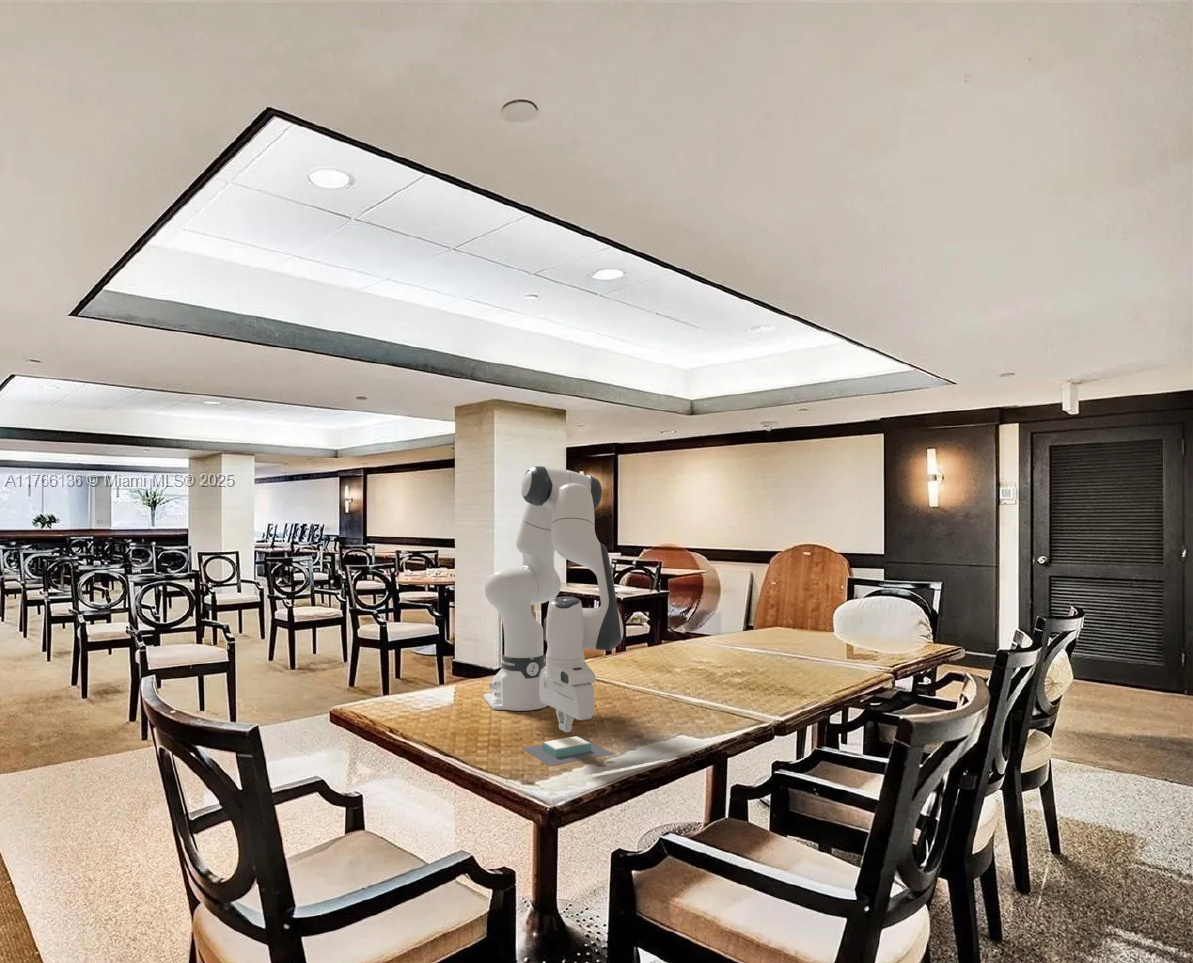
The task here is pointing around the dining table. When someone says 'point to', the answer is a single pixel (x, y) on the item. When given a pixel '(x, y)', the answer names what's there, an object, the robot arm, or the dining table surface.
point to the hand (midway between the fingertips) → (565, 730)
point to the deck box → (566, 746)
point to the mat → (551, 761)
